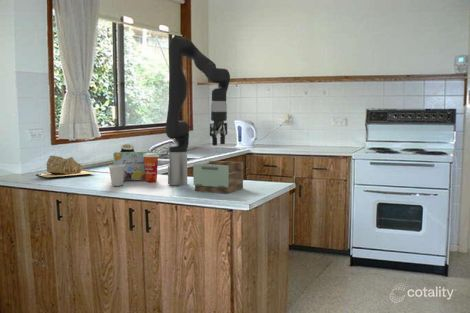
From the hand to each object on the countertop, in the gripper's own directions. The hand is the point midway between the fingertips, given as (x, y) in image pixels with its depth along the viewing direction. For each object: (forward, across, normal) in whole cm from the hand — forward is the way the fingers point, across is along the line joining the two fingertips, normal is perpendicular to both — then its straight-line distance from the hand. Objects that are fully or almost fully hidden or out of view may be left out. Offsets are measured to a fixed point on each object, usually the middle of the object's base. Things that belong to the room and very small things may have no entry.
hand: (218, 144), depth 240 cm
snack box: (+22, -11, -57) cm, 62 cm away
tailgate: (+19, +8, 0) cm, 21 cm away
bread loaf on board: (+28, -11, -105) cm, 109 cm away
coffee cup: (+23, -13, -47) cm, 54 cm away
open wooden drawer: (+22, -1, 0) cm, 22 cm away
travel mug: (+22, -18, -67) cm, 72 cm away
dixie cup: (+23, +6, -55) cm, 60 cm away
